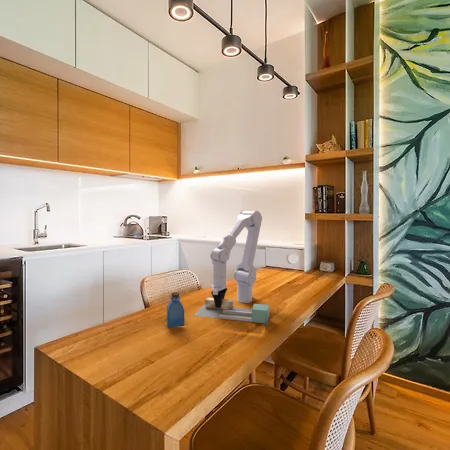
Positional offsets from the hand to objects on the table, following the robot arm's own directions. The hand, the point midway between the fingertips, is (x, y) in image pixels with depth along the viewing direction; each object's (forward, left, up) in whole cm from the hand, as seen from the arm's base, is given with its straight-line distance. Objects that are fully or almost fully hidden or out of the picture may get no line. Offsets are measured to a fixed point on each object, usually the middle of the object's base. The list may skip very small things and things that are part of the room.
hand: (219, 306), depth 127 cm
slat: (0, 0, -1) cm, 1 cm away
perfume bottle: (+18, -13, -2) cm, 22 cm away
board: (+4, +7, -2) cm, 8 cm away
